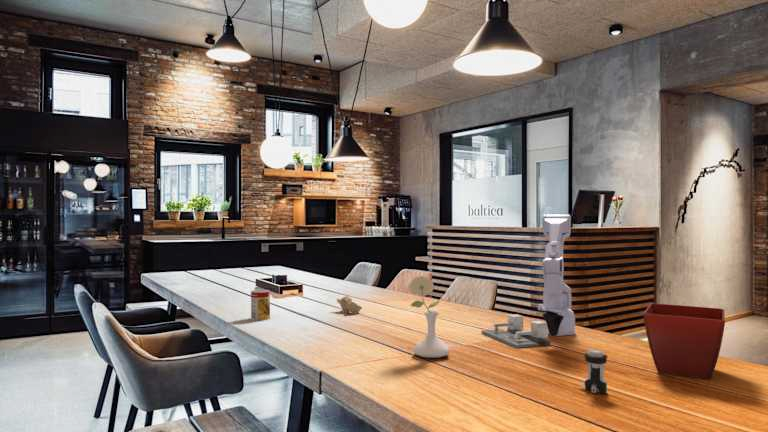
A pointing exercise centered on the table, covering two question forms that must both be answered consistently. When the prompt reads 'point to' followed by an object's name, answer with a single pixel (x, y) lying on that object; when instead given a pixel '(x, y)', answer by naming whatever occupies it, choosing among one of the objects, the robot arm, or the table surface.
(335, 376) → the table surface
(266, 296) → the canned food
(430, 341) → the flower in vase
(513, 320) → the fixed divider leg
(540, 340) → the bar
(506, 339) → the bolt hole plate
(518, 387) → the table surface
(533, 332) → the sliding divider leg
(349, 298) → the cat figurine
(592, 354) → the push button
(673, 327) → the plant pot
